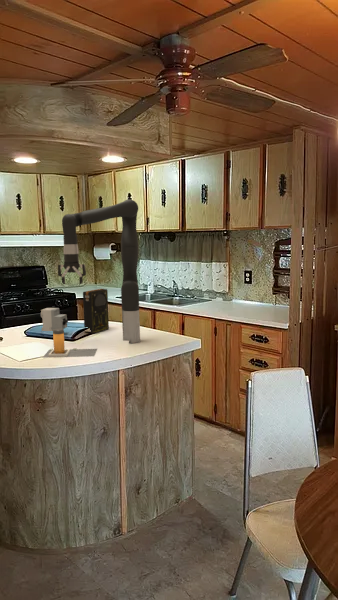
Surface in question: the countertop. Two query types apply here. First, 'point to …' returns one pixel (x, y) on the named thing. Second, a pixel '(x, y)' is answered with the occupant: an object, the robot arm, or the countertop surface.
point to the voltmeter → (96, 310)
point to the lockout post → (58, 341)
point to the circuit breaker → (53, 319)
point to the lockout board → (72, 353)
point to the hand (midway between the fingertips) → (72, 284)
